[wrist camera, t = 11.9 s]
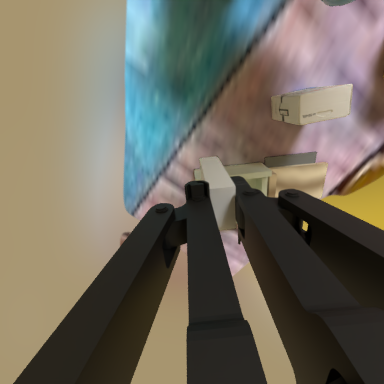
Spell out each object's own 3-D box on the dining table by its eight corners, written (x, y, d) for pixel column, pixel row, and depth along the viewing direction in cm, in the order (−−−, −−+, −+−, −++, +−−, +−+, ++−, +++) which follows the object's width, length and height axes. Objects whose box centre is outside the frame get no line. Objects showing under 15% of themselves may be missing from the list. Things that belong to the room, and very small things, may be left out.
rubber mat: (264, 157, 47) (265, 157, 46) (315, 151, 47) (316, 152, 46) (262, 209, 53) (263, 209, 52) (307, 204, 52) (308, 204, 52)
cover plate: (262, 168, 47) (267, 173, 44) (324, 162, 47) (335, 166, 44) (260, 201, 51) (265, 208, 48) (318, 195, 51) (327, 202, 48)
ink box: (311, 87, 41) (356, 81, 30) (310, 112, 43) (352, 115, 32) (270, 96, 41) (299, 93, 31) (270, 120, 44) (299, 126, 33)
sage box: (193, 169, 47) (195, 179, 41) (260, 161, 47) (271, 170, 41) (198, 212, 52) (200, 227, 46) (258, 206, 52) (268, 219, 46)
